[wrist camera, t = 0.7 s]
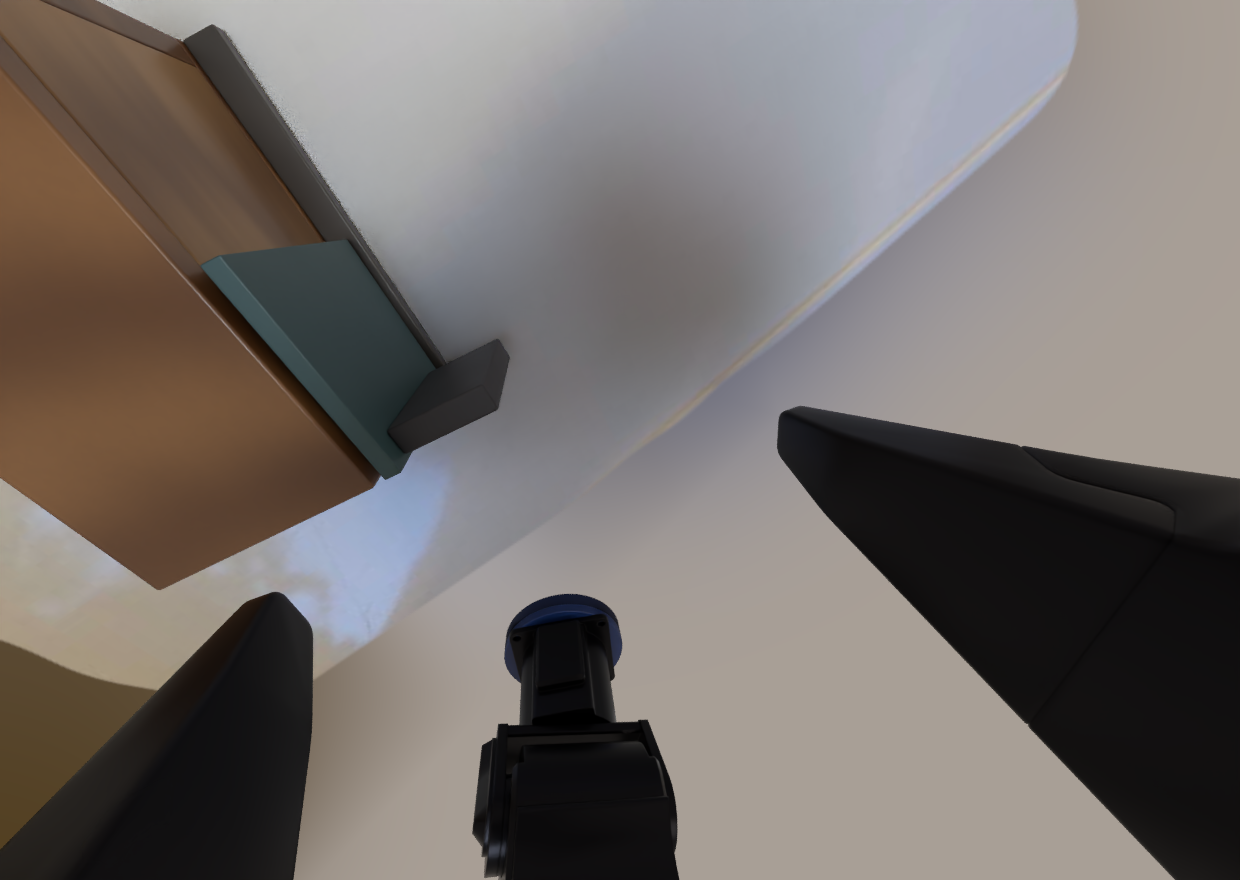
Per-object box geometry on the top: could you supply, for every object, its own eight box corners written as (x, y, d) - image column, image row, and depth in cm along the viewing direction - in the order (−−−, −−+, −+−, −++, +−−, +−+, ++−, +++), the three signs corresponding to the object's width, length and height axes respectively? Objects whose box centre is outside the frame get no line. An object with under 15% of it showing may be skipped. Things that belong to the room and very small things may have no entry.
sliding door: (514, 354, 21) (500, 425, 14) (437, 392, 21) (384, 480, 14) (423, 199, 18) (345, 187, 11) (334, 245, 18) (198, 265, 11)
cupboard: (457, 378, 22) (408, 472, 14) (294, 458, 22) (158, 592, 14) (223, 29, 15) (-124, -174, 7) (1, 153, 16) (-548, 91, 8)
